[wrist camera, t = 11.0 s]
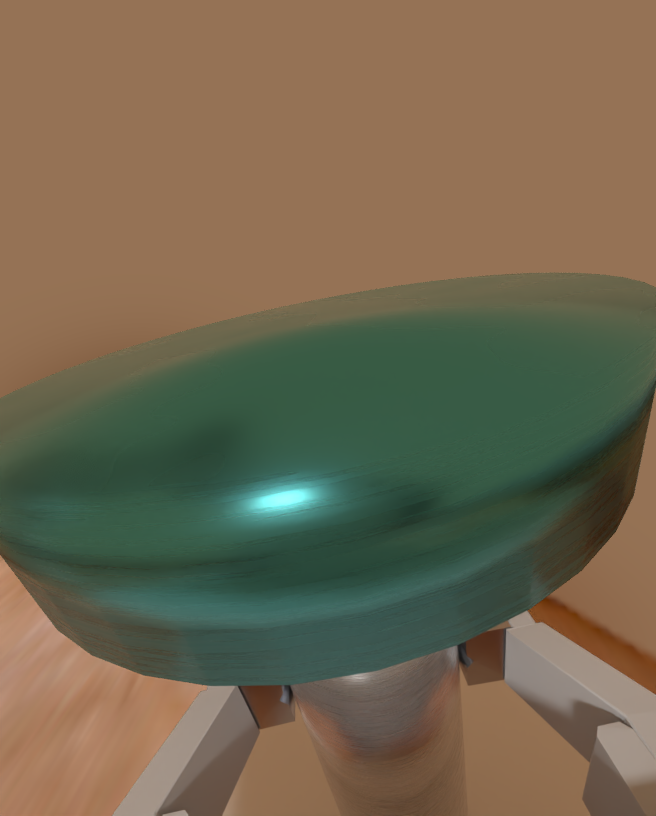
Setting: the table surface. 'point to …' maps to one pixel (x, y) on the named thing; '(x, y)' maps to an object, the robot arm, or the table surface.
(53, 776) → the table surface
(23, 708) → the table surface
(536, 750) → the pad
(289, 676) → the teal capped clear tube
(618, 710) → the robot arm
